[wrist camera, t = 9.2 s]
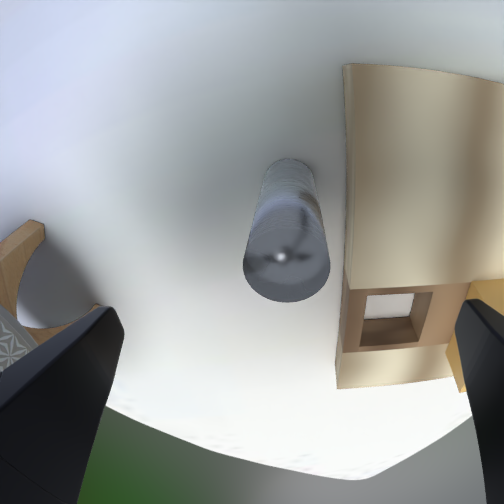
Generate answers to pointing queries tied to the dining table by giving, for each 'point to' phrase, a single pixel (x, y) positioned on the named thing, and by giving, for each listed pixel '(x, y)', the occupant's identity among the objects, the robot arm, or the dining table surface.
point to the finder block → (493, 294)
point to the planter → (6, 289)
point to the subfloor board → (416, 214)
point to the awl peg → (287, 236)
